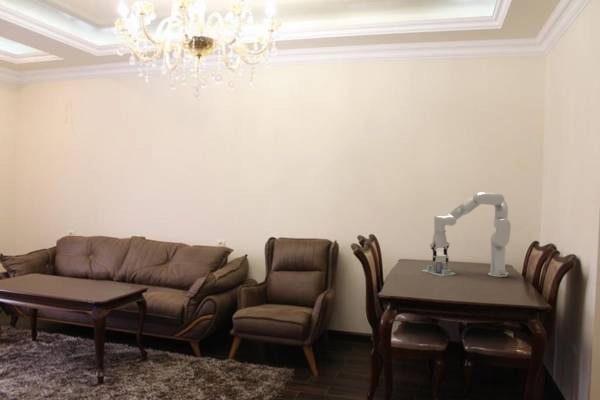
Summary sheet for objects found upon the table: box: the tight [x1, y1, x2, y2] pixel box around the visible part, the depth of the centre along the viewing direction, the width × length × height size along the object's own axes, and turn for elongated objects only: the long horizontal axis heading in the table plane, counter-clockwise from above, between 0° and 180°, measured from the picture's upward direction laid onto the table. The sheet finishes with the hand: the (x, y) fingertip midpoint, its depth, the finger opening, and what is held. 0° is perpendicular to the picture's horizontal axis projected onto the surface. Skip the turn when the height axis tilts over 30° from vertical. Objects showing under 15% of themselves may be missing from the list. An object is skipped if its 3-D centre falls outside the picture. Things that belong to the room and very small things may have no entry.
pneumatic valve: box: [432, 253, 449, 265], centre depth 360 cm, size 6×12×12 cm, turn 76°
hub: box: [433, 261, 445, 272], centre depth 342 cm, size 7×7×6 cm
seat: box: [421, 264, 456, 277], centre depth 342 cm, size 20×14×6 cm
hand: (440, 255), depth 342 cm, fingers open, 9 cm apart
